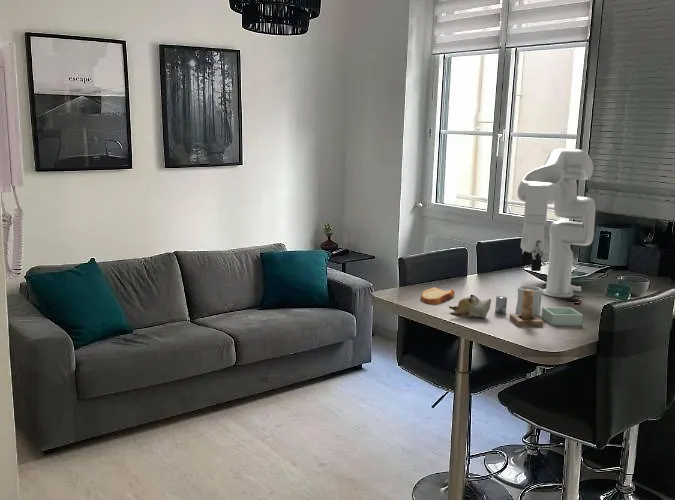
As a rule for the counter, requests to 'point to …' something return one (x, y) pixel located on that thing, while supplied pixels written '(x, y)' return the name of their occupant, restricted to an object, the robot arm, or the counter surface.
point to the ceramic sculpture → (471, 307)
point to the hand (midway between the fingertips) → (530, 267)
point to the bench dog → (501, 305)
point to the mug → (536, 299)
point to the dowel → (527, 304)
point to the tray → (562, 316)
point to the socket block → (526, 321)
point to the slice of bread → (436, 296)
